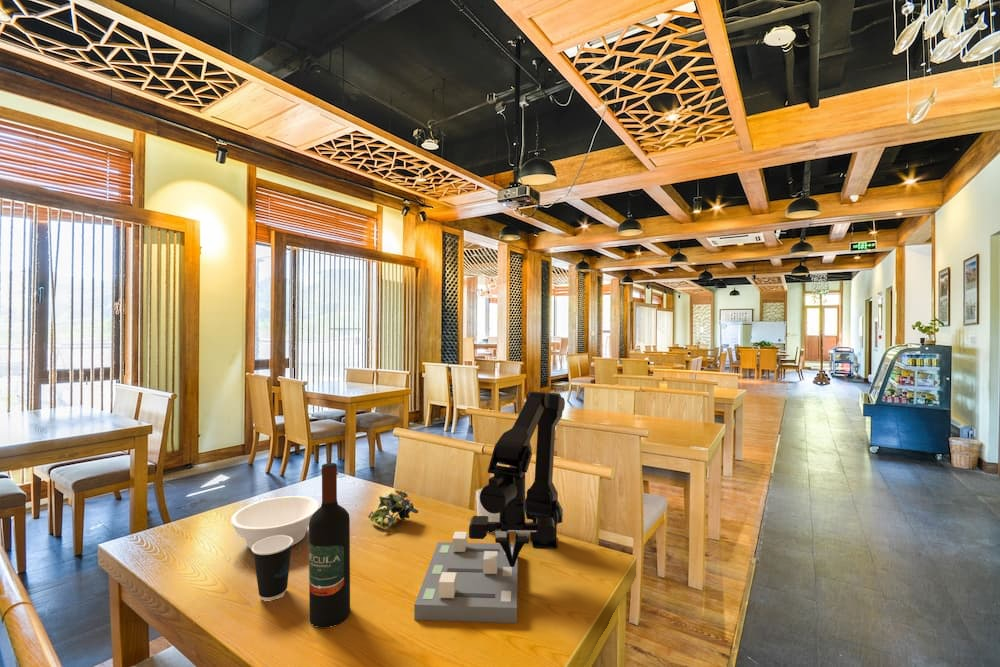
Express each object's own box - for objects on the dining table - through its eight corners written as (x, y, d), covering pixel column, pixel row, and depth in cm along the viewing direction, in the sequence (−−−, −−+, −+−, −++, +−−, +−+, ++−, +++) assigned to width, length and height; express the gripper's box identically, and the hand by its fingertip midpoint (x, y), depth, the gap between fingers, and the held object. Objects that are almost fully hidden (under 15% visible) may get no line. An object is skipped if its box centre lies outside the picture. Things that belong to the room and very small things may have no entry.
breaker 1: (456, 587, 92) (456, 572, 92) (453, 598, 88) (453, 582, 88) (442, 587, 92) (441, 572, 92) (438, 597, 89) (438, 581, 89)
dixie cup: (288, 603, 92) (288, 550, 92) (246, 609, 90) (246, 555, 90) (297, 581, 100) (296, 533, 100) (258, 586, 98) (258, 537, 98)
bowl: (211, 552, 113) (211, 520, 113) (280, 518, 132) (280, 491, 132) (272, 569, 105) (272, 535, 105) (336, 531, 124) (336, 502, 124)
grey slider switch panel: (517, 556, 111) (517, 543, 111) (516, 623, 86) (516, 607, 86) (438, 553, 112) (438, 541, 112) (414, 619, 87) (414, 604, 87)
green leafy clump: (401, 537, 132) (425, 504, 132) (385, 548, 121) (412, 512, 122) (374, 512, 135) (398, 479, 135) (356, 520, 124) (382, 485, 125)
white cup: (507, 523, 129) (507, 489, 129) (498, 535, 122) (498, 499, 122) (482, 519, 132) (482, 485, 132) (471, 531, 125) (471, 495, 124)
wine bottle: (358, 609, 90) (357, 462, 90) (329, 632, 83) (328, 473, 83) (330, 599, 93) (329, 457, 93) (300, 621, 87) (299, 468, 86)
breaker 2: (466, 544, 110) (467, 531, 110) (465, 551, 106) (465, 538, 106) (454, 544, 110) (454, 531, 110) (452, 551, 107) (452, 538, 106)
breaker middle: (497, 565, 101) (497, 551, 100) (496, 574, 97) (497, 559, 97) (484, 564, 101) (484, 550, 101) (483, 573, 97) (483, 559, 97)
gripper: (552, 483, 106) (551, 548, 106) (473, 482, 107) (473, 546, 107) (556, 502, 95) (555, 574, 95) (468, 500, 96) (468, 572, 96)
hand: (512, 565), depth 99 cm, fingers closed
